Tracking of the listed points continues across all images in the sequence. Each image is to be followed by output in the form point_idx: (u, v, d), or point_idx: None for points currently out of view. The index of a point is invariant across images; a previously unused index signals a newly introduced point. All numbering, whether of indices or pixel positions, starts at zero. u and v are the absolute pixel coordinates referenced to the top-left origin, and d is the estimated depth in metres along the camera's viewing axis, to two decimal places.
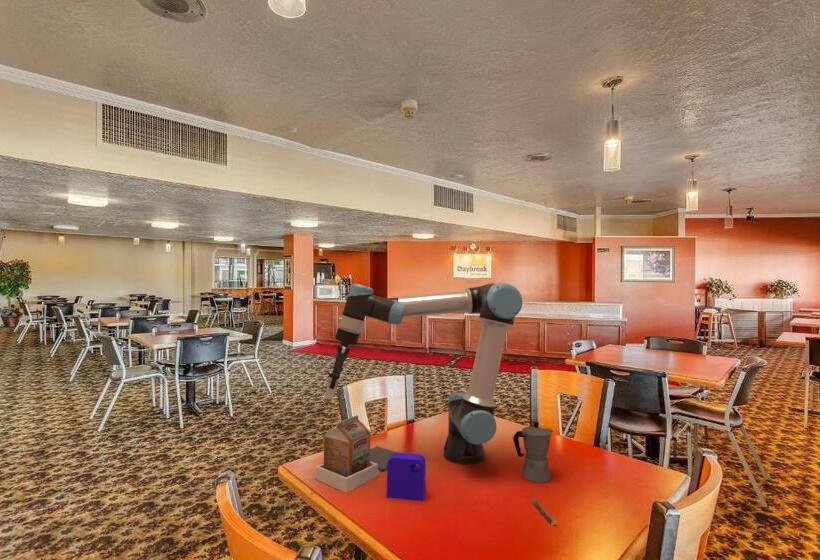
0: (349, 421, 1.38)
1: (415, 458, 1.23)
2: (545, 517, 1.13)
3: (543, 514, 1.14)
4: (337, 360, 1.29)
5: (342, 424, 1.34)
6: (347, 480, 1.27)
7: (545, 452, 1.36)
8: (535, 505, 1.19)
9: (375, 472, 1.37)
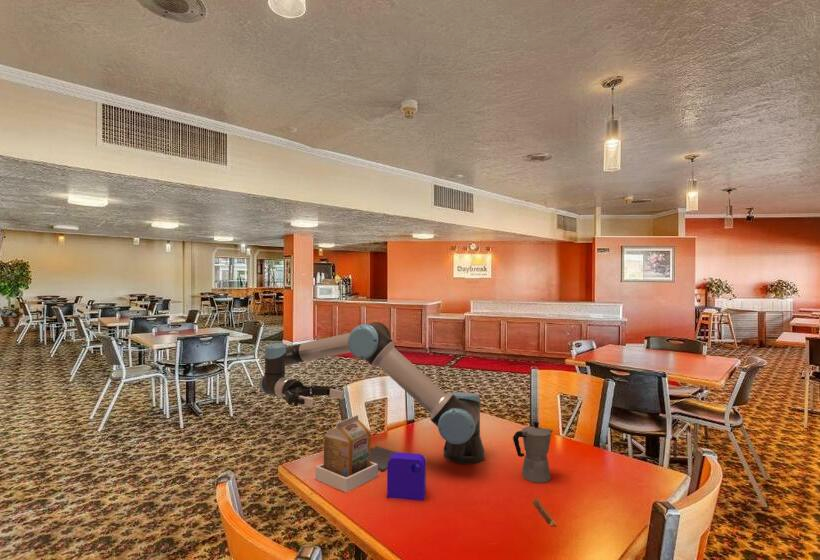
0: (349, 421, 1.38)
1: (416, 458, 1.24)
2: (544, 517, 1.13)
3: (543, 514, 1.14)
4: (286, 399, 1.44)
5: (342, 424, 1.34)
6: (347, 480, 1.27)
7: (545, 452, 1.36)
8: (536, 505, 1.19)
9: (375, 472, 1.37)
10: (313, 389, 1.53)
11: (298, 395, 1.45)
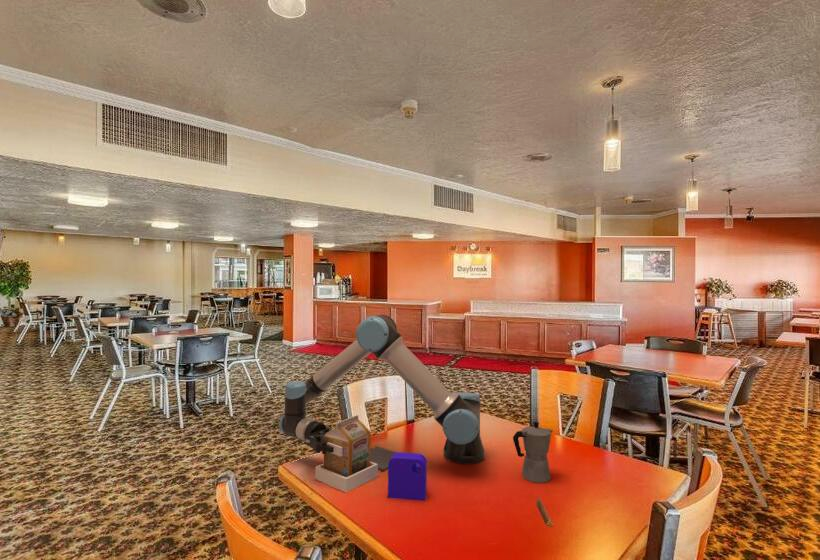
0: (349, 421, 1.38)
1: (417, 458, 1.24)
2: (543, 517, 1.13)
3: (542, 514, 1.14)
4: (311, 446, 1.36)
5: (342, 424, 1.34)
6: (347, 480, 1.27)
7: (545, 452, 1.36)
8: (538, 505, 1.19)
9: (375, 472, 1.37)
10: None
11: None
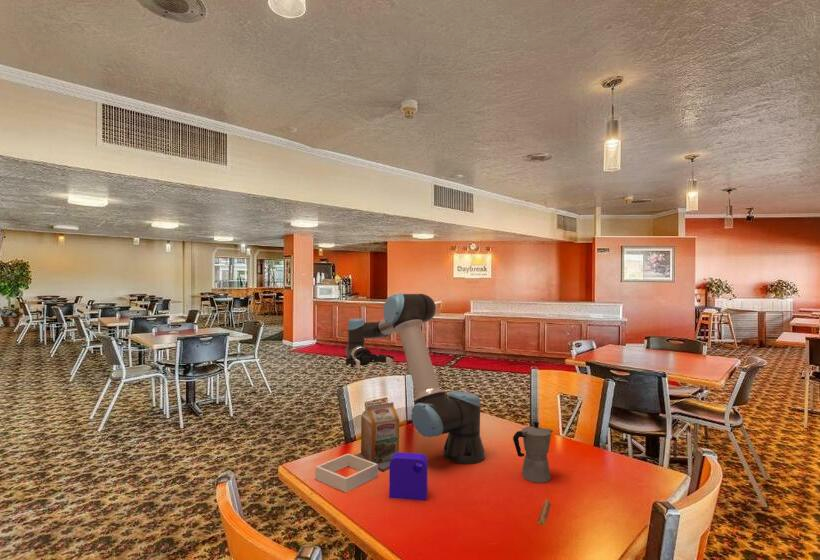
0: (382, 406, 1.53)
1: (418, 458, 1.24)
2: (540, 516, 1.13)
3: (541, 513, 1.15)
4: None
5: (373, 407, 1.51)
6: (347, 480, 1.27)
7: (545, 452, 1.36)
8: (543, 505, 1.19)
9: (375, 472, 1.37)
10: (374, 356, 1.77)
11: (357, 359, 1.72)
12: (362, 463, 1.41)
